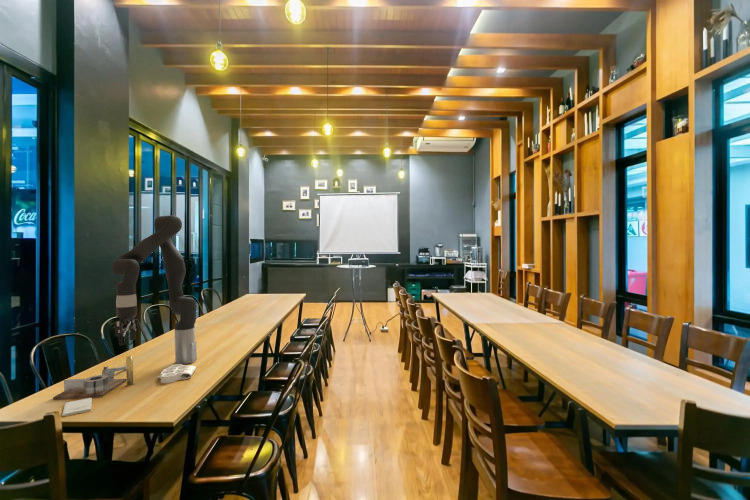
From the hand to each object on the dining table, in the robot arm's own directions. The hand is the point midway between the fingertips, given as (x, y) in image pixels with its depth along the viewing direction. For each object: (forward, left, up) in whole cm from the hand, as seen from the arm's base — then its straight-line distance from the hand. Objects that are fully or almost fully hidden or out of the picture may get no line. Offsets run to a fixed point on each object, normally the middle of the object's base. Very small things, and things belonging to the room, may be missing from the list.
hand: (127, 342), depth 166 cm
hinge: (+12, +4, -17) cm, 22 cm away
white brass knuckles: (-17, -8, -19) cm, 26 cm away
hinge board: (+12, +4, -18) cm, 22 cm away
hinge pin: (-1, 0, -18) cm, 18 cm away
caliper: (+12, -16, -19) cm, 27 cm away
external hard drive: (+6, +23, -19) cm, 31 cm away
